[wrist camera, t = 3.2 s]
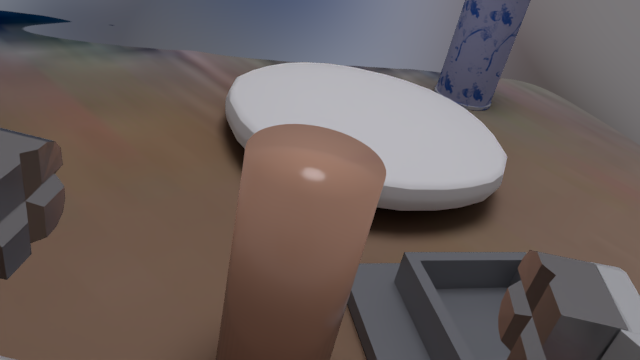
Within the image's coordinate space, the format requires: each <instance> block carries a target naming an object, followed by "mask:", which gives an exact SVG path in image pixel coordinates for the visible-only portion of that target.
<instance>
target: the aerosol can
mask: <svg viewBox="0 0 640 360" xmlns="http://www.w3.org/2000/svg"><path fill="white" fill-rule="evenodd" d="M529 3H530V0H465V2H464V5H463V8H462V11H461V15H460V17H459V20H458V24H457V26H456V29H455V33H454V35H453V39H452V41H451V45H450V48H449V51H448V54H447V57H446V60H445V63H444V66H443V69H442V72H441V75H440V78H439V81H438V84H437V85H436V86H435V88H434V92H436V93H438V94H440V95H442V96H444V97H446V98H448V99H450V100H452V101H454V102H455V103H457V104H459V105H460V106H462V107H464V108H465V109H468V110H476V111H481V110H487V109H489V107H490V106H491V99H492V97H493V94H494V92H495V89H496V87H497V84H498V81H499V79H500V76H501V74H502V71H503V69H504V66H505V64H506V61H507V59H508V56H509V54H510V51H511V49H512V46H513V43H514V41H515V38H516V36H517V33H518V31H519V28H520V26H521V23H522V21H523V18H524V15H525V13H526V10H527V8H528V6H529Z"/></svg>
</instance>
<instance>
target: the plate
mask: <svg viewBox="0 0 640 360" xmlns="http://www.w3.org/2000/svg"><path fill="white" fill-rule="evenodd" d="M225 110H226V119H227V121H228V123H229V125H230V127H231V129H232V132H233V134H234V136H235V138H236V140H237V141H238V142H239V143H240V144H241V145H242V146H243V148H244V149H245V147H246V143H247V141H248V140H249V138H250V137H251V136H252V135H253V134H255V133H256V132H258V131H260V130H262V129H264V128H267V127H271V126H276V125H283V124H305V125H314V126H320V127H324V128H328V129H332V130H335V131H338V132H341V133H344V134H346V135H349V136H351V137H353V138H355V139H357V140H359V141H361V142H362V143H364V144H365V145H367V146H368V147H370V148H371V149H372V150H373V151H374V152H375V153H376V154H377V155H378V156H379V157H380V158H381V160H382V161H383V163H384V165H385V168H386V178H385V182H384V185H383V188H382V192H381V195H380V198H379V201H378V205H377V208H385V209H392V210H399V211H436V210H444V209H452V208H460V207H464V206H467V205H471V204H474V203H478V202H482V201H484V200H485V199H486V198H487V197H489V196H490V195H491V194H492V193H494V192H495V191H496V190H497V189H498V188H499V187H500V185H501V183H502V179H503V174H504V170H505V165H506V160H507V155H506V153H505V152H504V150H503V149H502V147H501V146H500V144H499V143H498V141H497V139H496V138H495V136H494V135H493V134H492V133H491V132H490V130H489V129H488V128H487V127H486V126H485V125H484V124H483V123H482V122H481V121H480V120H479V119H477V118H476V117H475V116H474V115H472V114H471V113H470V112H469V111H468V110H466V109H465V108H464V107H462V106H460V105H459V104H457V103H455V102H454V101H452V100H450V99H448V98H446V97H444V96H442V95H440V94H438V93H436V92H434V91H432V90H430V89H427V88H424V87H422V86H419V85H416V84H414V83H411V82H408V81H405V80H402V79H399V78H395V77H392V76H388V75H385V74H381V73H376V72H372V71H367V70H363V69H359V68H354V67H348V66H341V65H335V64H327V63H307V62H301V63H284V64H278V65H272V66H267V67H263V68H260V69H256V70H253V71H250V72H248V73H246V74H243V75H241V76H239V77H237V78H236V80H235V81H234V83H233V85H232V87H231V88H230V90H229V92H228V95H227V97H226V102H225Z"/></svg>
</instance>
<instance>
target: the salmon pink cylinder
mask: <svg viewBox="0 0 640 360" xmlns="http://www.w3.org/2000/svg"><path fill="white" fill-rule="evenodd" d="M385 178H386V168H385V165H384V163H383V161H382V160H381V158H380V157H379V156H378V155H377V154H376V153H375V152H374V151H373V150H372V149H371V148H370V147H368V146H367V145H365V144H364V143H362V142H361V141H359V140H357V139H355V138H353V137H351V136H349V135H346V134H344V133H341V132H338V131H335V130H332V129H328V128H324V127H320V126H314V125H305V124H283V125H276V126H271V127H267V128H264V129H262V130H260V131H258V132H256V133H255V134H253V135H252V136H251V137H250V138H249V140H248V141H247V143H246V147H245V153H244V161H243V168H242V175H241V182H240V189H239V197H238V204H237V211H236V218H235V226H234V233H233V240H232V247H231V254H230V262H229V269H228V276H227V283H226V291H225V298H224V305H223V312H222V319H221V327H220V334H219V341H218V348H217V356H216V360H330V358H331V354H332V351H333V348H334V345H335V341H336V338H337V335H338V331H339V328H340V325H341V322H342V318H343V315H344V312H345V309H346V305H347V302H348V299H349V296H350V292H351V289H352V286H353V283H354V279H355V276H356V273H357V270H358V266H359V263H360V260H361V257H362V253H363V250H364V247H365V244H366V240H367V237H368V234H369V231H370V227H371V224H372V221H373V218H374V214H375V211H376V208H377V205H378V201H379V198H380V195H381V192H382V188H383V185H384V182H385Z"/></svg>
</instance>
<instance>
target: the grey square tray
mask: <svg viewBox="0 0 640 360" xmlns="http://www.w3.org/2000/svg"><path fill="white" fill-rule="evenodd" d="M525 255H526V252H404V255H403V258H402V260H401V263H380V264H359V266H358V270H357V273H356V276H355V279H354V283H353V286H352V289H351V292H350V296H349V299H348V302H347V304H348V307H349V310H350V312H351V315H352V318H353V321H354V324H355V326H356V329H357V332H358V335H359V338H360V341H361V343H362V346H363V349H364V352H365V355H366V357H367V360H507V358H508V356H509V354H510V353H511V351H510V350H509V349H508V348H507V347H506V346H505V345H504V344H503V343H502V341H501V339H500V334H499V330H498V315H499V310H500V305H501V301H502V299H503V297H504V295H505V292H506V290H507V288H508V287H509V286H511V285H513V284H515V283H517V282H518V281H520V280H521V278H520V274H519V271H518V266H519V265H520V263H521V261H522V259H523V257H524V256H525Z"/></svg>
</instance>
